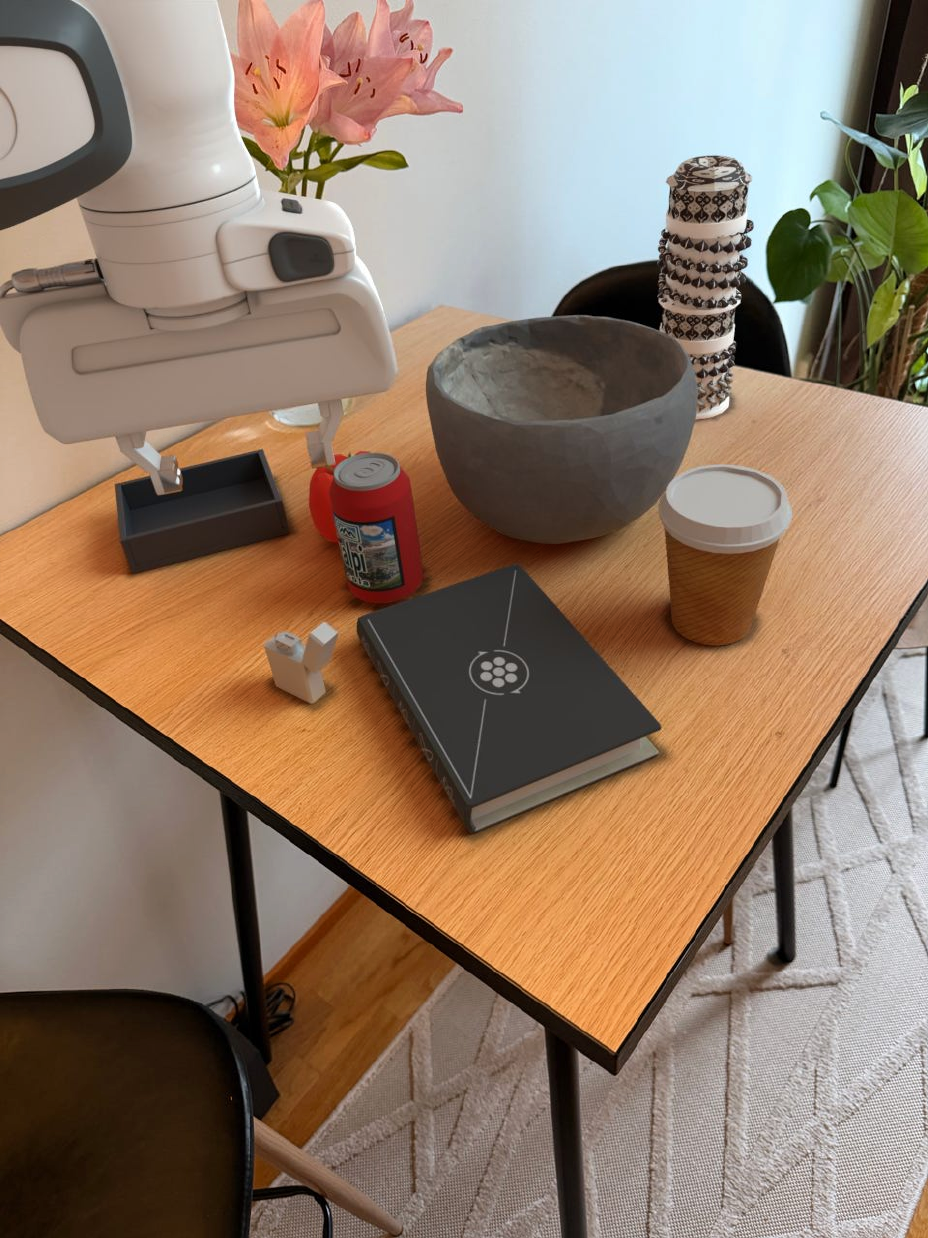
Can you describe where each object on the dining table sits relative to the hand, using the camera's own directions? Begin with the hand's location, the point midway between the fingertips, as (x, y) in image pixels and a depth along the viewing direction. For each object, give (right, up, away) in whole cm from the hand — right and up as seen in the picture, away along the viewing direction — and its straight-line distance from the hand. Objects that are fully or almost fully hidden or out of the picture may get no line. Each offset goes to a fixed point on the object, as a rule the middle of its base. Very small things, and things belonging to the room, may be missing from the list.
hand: (247, 475), depth 56 cm
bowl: (+23, +2, +32) cm, 40 cm away
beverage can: (+7, -6, +25) cm, 26 cm away
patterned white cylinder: (+39, +15, +47) cm, 63 cm away
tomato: (+4, -1, +32) cm, 32 cm away
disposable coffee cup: (+33, -9, +18) cm, 39 cm away
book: (+16, -15, +13) cm, 25 cm away
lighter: (+2, -15, +15) cm, 21 cm away
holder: (-13, +1, +35) cm, 37 cm away
